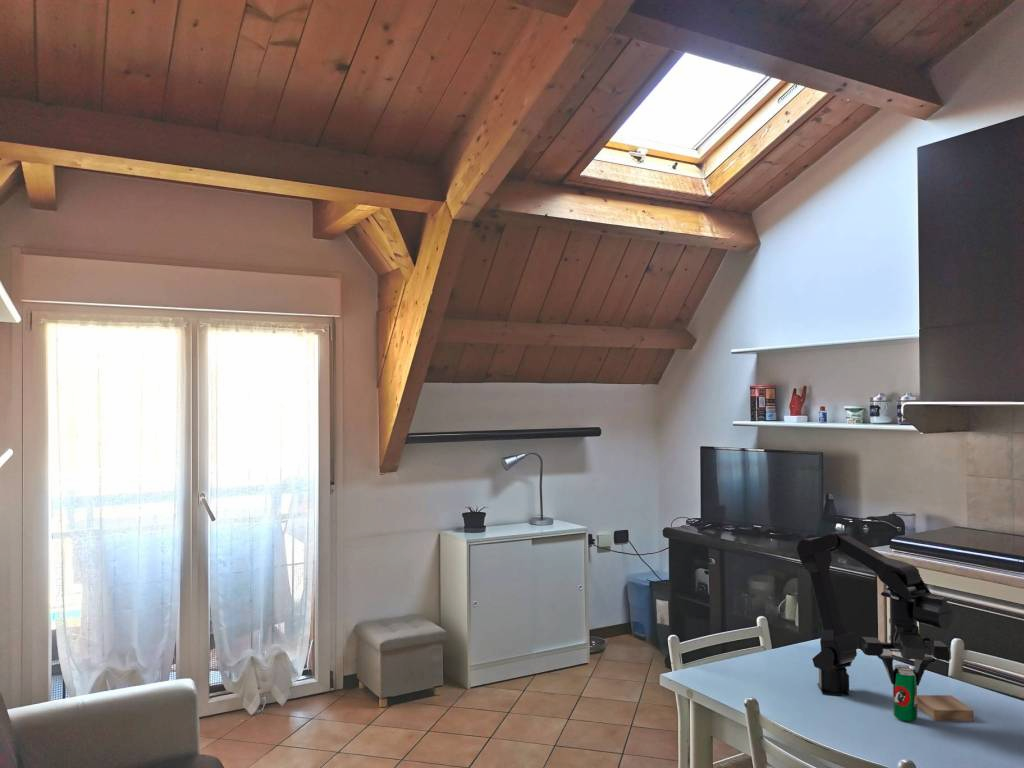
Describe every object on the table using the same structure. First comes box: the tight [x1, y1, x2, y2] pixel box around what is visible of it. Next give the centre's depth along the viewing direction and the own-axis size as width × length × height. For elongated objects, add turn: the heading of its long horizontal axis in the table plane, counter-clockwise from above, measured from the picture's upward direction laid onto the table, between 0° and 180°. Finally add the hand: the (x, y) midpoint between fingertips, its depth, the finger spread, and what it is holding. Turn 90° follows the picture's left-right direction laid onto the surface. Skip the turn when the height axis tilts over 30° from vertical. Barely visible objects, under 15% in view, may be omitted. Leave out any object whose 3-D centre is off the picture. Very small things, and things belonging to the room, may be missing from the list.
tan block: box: [917, 694, 975, 722], centre depth 180 cm, size 9×9×2 cm
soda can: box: [892, 664, 919, 723], centre depth 177 cm, size 5×5×12 cm
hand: (904, 684), depth 177 cm, fingers closed on soda can, 5 cm apart
